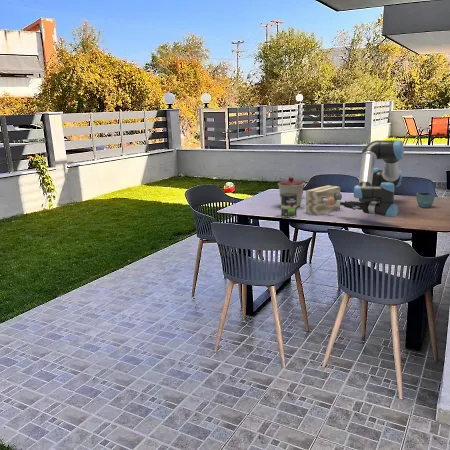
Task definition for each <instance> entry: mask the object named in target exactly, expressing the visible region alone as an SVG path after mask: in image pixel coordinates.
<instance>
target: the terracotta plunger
mask: <svg viewBox="0 0 450 450" xmlns="http://www.w3.org/2000/svg"><path fill="white" fill-rule="evenodd" d="M321 202H327V203H328V205H333V204H334V202H335V199H334V198H333V197H329V198H328V199H325V198H321Z"/></svg>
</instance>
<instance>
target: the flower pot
mask: <svg viewBox="0 0 450 450" xmlns="http://www.w3.org/2000/svg"><path fill="white" fill-rule="evenodd" d="M415 195H416V201H417V205H418V207H421V208H422V209H423V208H431V207H432V205H434V201H435V197H436V194H434V193H431V192H416V193H415Z"/></svg>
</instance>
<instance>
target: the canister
mask: <svg viewBox="0 0 450 450" xmlns="http://www.w3.org/2000/svg"><path fill="white" fill-rule="evenodd" d="M304 183H305V182H304V181H302V180H298V179H294V176H289V177H288V179H287V180H286V179H285V180H282V181H280V182H278V183H277V185H278V189H279V190H278V191H279V197H280V200H281V194H284V193H294V194H297V208H299V207H300V206H301V203H302V199H303V198H302V197H303V194H302V192H303V193H304V189H303V185H304ZM304 186H305V185H304Z"/></svg>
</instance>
